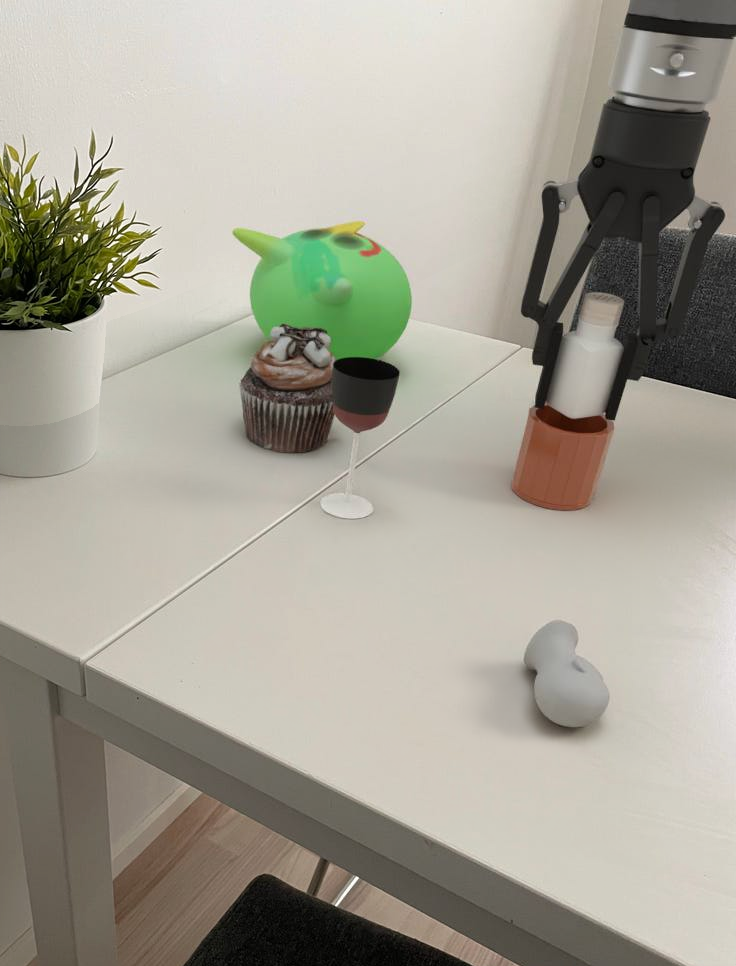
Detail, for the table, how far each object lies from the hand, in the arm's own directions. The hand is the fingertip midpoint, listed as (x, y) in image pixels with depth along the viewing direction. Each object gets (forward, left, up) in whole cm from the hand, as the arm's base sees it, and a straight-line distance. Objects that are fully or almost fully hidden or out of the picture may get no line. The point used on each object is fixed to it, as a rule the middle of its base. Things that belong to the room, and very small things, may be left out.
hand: (574, 407), depth 85 cm
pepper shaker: (0, 0, 0) cm, 0 cm away
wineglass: (+17, +10, -8) cm, 21 cm away
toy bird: (+26, -23, -8) cm, 36 cm away
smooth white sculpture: (-1, +31, -8) cm, 32 cm away
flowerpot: (0, 0, -8) cm, 8 cm away
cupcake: (+25, -2, -8) cm, 26 cm away
